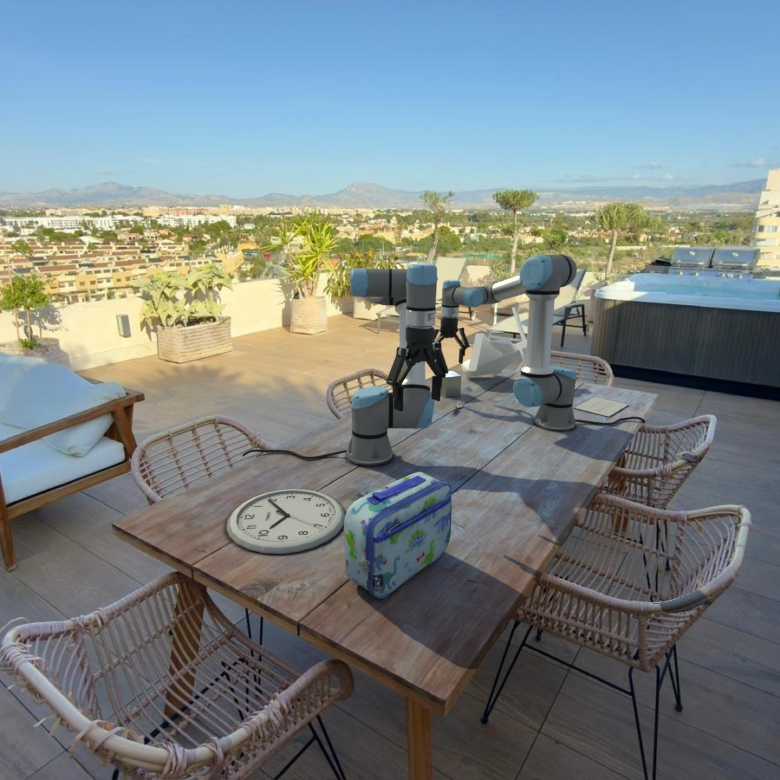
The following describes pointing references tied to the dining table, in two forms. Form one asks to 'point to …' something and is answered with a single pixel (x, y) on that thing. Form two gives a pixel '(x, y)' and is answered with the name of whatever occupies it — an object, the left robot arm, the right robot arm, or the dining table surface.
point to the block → (451, 385)
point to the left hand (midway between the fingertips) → (417, 404)
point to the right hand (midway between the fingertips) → (446, 364)
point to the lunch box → (397, 532)
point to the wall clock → (285, 521)
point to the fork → (458, 407)
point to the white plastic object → (495, 353)
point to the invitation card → (601, 406)
